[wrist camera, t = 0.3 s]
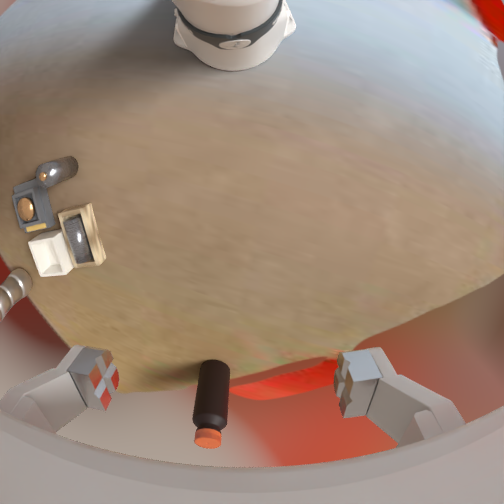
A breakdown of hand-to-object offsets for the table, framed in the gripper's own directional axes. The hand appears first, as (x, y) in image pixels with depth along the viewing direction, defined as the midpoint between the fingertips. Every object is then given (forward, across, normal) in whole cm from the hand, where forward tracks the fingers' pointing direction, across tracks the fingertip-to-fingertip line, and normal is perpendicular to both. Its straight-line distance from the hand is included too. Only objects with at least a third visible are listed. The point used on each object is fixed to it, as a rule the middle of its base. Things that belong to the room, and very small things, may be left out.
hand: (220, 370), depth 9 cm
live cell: (+39, +30, +5) cm, 50 cm away
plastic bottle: (+40, +53, +14) cm, 68 cm away
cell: (+38, +32, -8) cm, 50 cm away
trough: (+39, +30, +5) cm, 50 cm away
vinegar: (+43, +8, +38) cm, 58 cm away
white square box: (+39, +38, +7) cm, 55 cm away
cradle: (+38, +42, -2) cm, 57 cm away
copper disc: (+35, +42, -2) cm, 55 cm away
